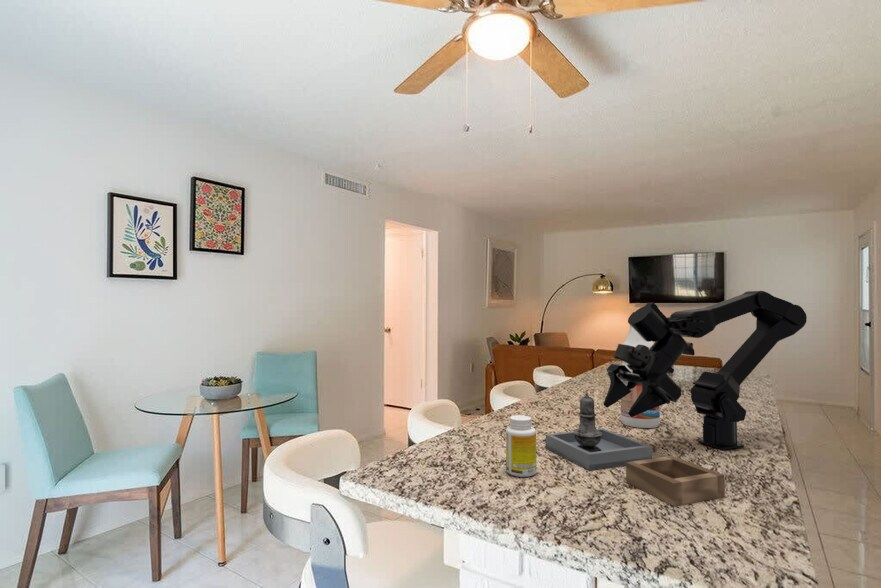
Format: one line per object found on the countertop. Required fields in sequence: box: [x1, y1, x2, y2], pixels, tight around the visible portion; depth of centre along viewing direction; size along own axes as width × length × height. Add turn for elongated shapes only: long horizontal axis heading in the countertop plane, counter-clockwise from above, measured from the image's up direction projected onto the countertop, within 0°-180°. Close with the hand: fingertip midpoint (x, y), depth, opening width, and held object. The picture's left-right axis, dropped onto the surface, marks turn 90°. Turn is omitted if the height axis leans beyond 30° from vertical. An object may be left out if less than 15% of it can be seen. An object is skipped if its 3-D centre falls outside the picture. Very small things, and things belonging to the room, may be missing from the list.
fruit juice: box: [620, 324, 661, 429], centre depth 123 cm, size 9×9×28 cm
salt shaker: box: [572, 391, 603, 452], centre depth 98 cm, size 6×6×12 cm
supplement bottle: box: [505, 414, 537, 478], centre depth 87 cm, size 6×6×10 cm
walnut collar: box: [625, 455, 726, 507], centre depth 79 cm, size 10×10×4 cm
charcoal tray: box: [545, 427, 653, 471], centre depth 98 cm, size 15×15×3 cm
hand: (616, 410), depth 99 cm, fingers open, 9 cm apart
